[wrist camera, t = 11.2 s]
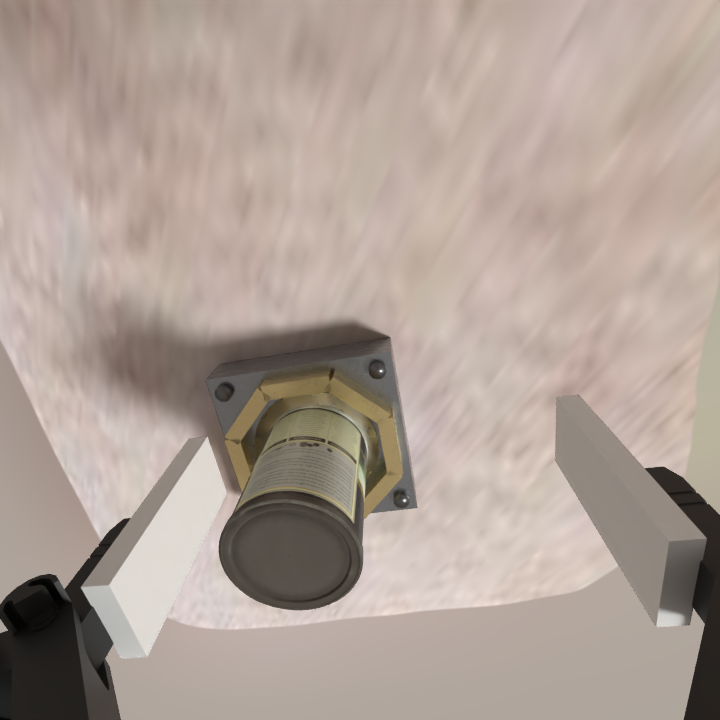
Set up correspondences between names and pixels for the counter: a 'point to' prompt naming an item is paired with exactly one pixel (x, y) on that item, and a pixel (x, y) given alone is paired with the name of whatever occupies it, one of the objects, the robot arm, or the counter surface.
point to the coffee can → (301, 512)
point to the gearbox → (325, 387)
